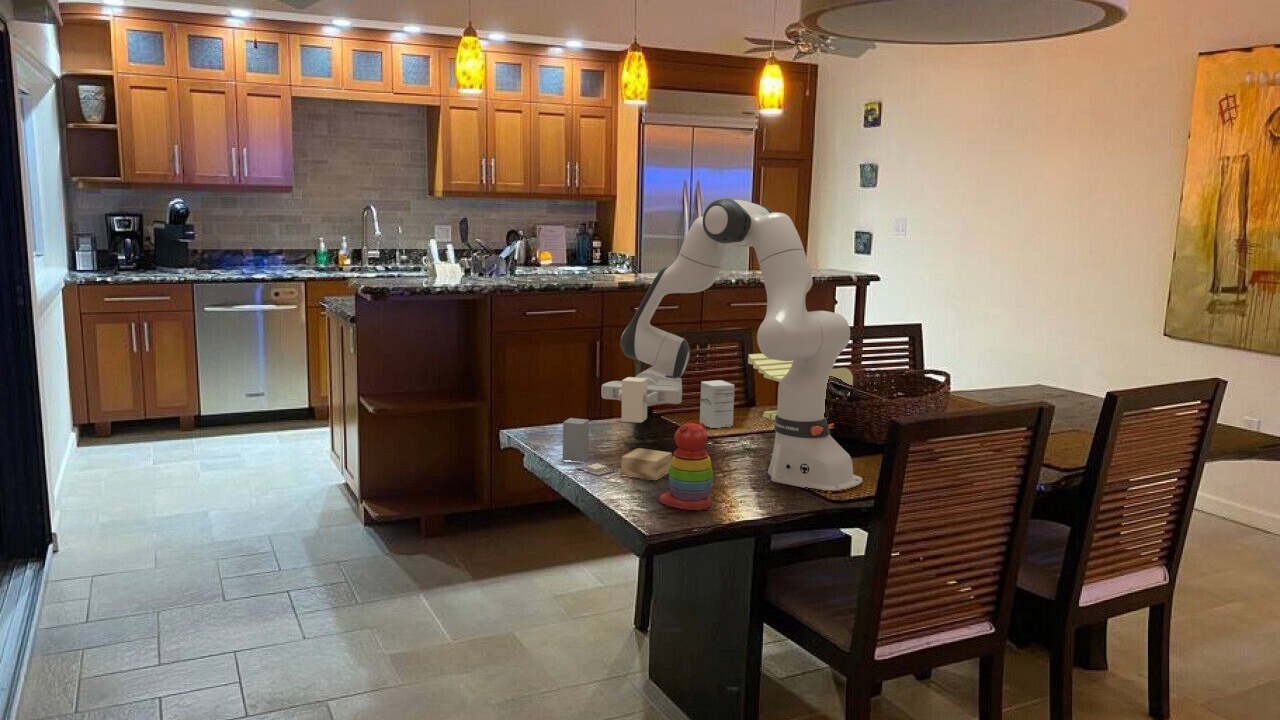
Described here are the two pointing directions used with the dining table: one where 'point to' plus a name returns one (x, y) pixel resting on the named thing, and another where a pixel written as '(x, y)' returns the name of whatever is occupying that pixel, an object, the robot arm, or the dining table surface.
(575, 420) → the grey block
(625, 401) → the cream block
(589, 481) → the dining table surface
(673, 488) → the stacking bear
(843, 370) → the slatted curved stool
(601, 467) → the card
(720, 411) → the supplement box
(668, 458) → the oak pedestal
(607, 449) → the dining table surface
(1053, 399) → the dining table surface
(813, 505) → the dining table surface
